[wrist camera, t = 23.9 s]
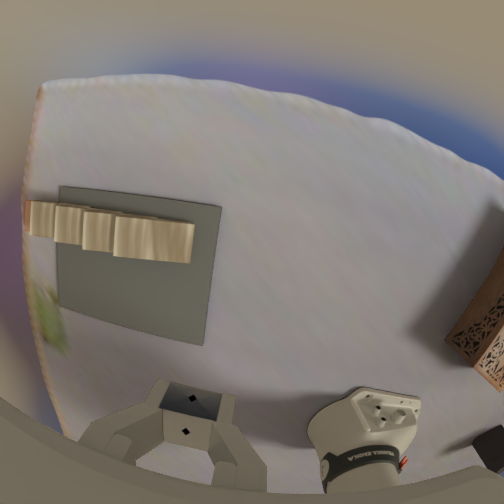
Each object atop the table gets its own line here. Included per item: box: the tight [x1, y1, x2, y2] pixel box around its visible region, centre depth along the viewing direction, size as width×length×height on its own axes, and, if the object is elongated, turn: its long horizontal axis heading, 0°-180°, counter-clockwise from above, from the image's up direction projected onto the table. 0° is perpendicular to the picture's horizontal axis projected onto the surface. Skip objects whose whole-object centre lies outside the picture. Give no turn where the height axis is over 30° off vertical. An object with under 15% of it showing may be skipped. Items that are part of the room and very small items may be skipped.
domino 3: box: [82, 210, 158, 253], centre depth 35 cm, size 2×5×10 cm
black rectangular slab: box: [472, 425, 504, 474], centre depth 38 cm, size 11×4×15 cm, turn 96°
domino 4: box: [113, 215, 195, 263], centre depth 35 cm, size 2×5×10 cm
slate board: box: [57, 187, 222, 346], centre depth 39 cm, size 26×20×1 cm
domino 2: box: [54, 205, 124, 245], centre depth 35 cm, size 2×5×10 cm
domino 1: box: [30, 200, 92, 238], centre depth 35 cm, size 2×5×10 cm
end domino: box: [25, 200, 35, 231], centre depth 37 cm, size 2×5×10 cm
